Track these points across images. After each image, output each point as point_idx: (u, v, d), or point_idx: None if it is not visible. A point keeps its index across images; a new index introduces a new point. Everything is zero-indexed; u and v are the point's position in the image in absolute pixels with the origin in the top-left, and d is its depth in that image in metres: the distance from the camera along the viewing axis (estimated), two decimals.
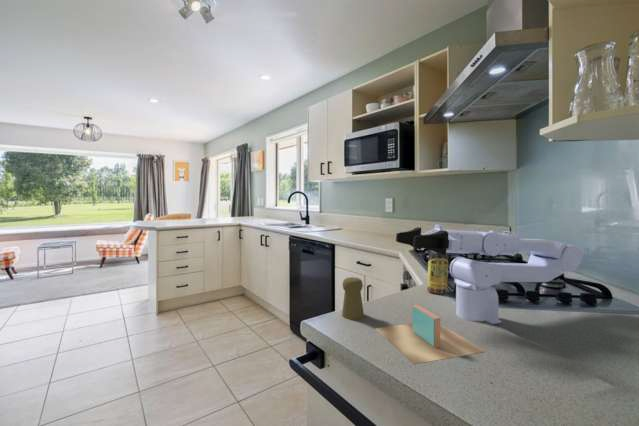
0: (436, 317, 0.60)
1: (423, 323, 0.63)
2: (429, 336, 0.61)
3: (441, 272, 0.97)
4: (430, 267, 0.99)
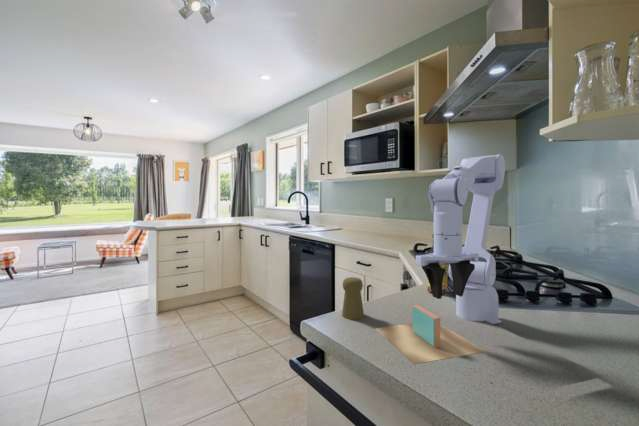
0: (436, 317, 0.60)
1: (423, 323, 0.63)
2: (429, 336, 0.61)
3: None
4: None
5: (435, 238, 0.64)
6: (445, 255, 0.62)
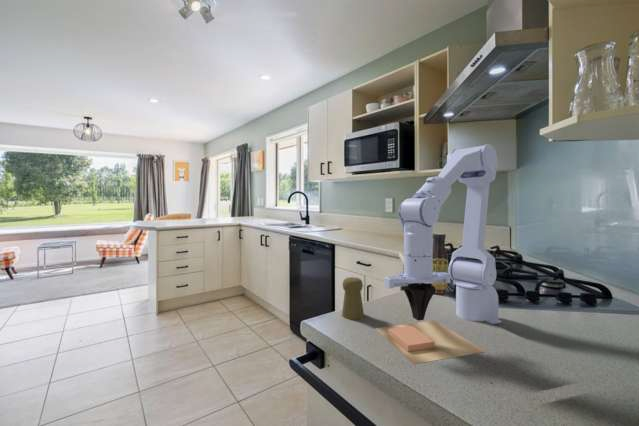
0: (406, 347, 0.58)
1: None
2: None
3: None
4: None
5: (405, 259, 0.62)
6: (414, 277, 0.60)
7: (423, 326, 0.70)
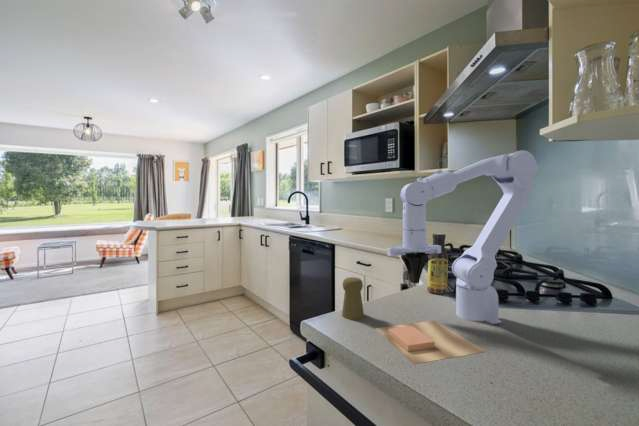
0: (406, 347, 0.58)
1: None
2: None
3: (441, 272, 0.97)
4: (430, 267, 0.99)
5: (403, 233, 0.75)
6: (411, 247, 0.73)
7: (423, 326, 0.70)
